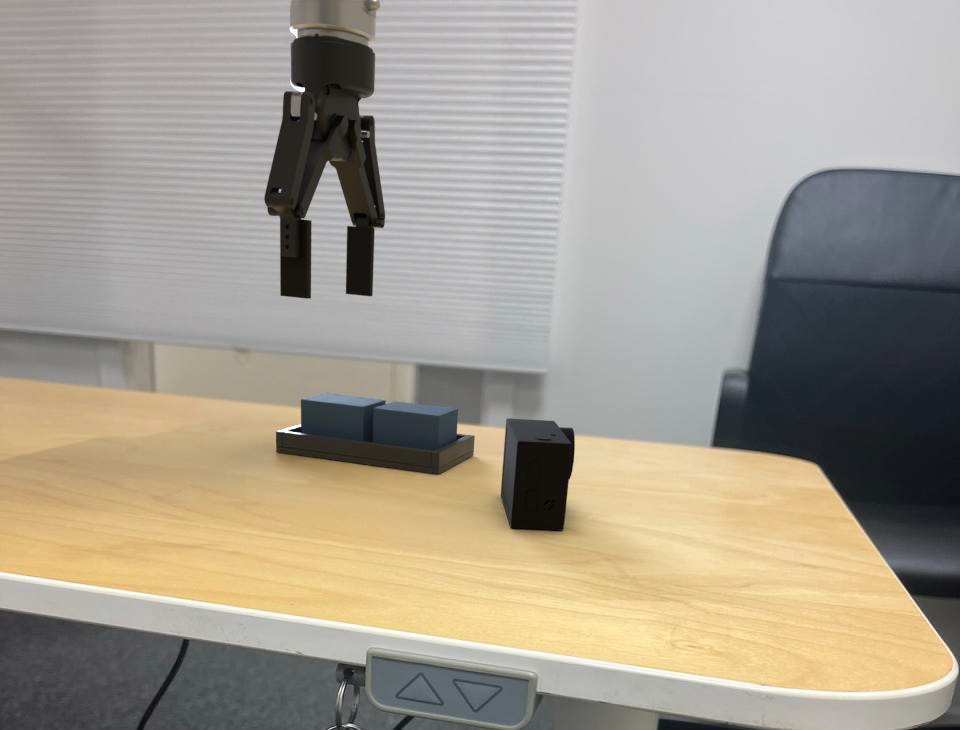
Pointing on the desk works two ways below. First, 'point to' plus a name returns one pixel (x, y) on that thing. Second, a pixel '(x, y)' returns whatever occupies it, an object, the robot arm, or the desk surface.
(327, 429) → the blue-grey rectangular block
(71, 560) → the desk surface
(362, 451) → the tray
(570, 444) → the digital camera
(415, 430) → the blue block
